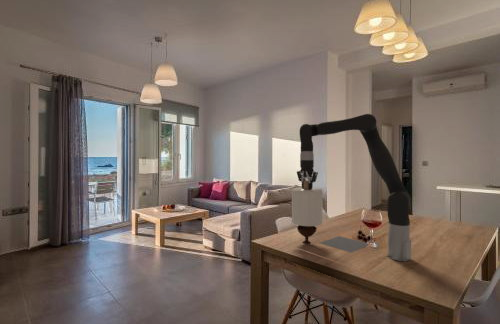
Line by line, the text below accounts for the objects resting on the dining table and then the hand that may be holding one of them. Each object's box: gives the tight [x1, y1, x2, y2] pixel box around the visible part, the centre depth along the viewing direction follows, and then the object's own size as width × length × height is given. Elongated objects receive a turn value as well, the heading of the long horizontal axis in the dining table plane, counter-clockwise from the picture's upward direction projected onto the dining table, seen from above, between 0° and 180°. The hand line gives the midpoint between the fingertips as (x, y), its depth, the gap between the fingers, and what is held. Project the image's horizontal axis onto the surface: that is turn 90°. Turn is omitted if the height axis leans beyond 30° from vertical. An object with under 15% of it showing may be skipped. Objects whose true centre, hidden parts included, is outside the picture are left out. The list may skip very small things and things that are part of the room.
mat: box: [319, 235, 371, 254], centre depth 156 cm, size 20×20×1 cm
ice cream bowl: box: [296, 225, 317, 245], centre depth 158 cm, size 11×11×15 cm
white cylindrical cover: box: [291, 179, 324, 227], centre depth 157 cm, size 17×17×24 cm
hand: (307, 189), depth 157 cm, fingers closed on white cylindrical cover, 4 cm apart
